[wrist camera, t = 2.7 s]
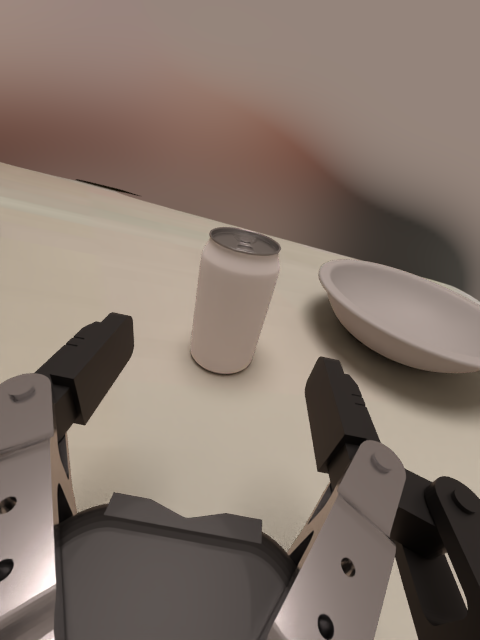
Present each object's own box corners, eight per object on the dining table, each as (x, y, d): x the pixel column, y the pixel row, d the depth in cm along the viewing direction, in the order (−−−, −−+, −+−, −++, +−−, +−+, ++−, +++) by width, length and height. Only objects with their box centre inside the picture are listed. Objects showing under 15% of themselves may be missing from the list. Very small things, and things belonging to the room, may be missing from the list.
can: (251, 338, 29) (281, 235, 23) (252, 381, 24) (292, 263, 17) (195, 329, 29) (209, 220, 22) (183, 370, 23) (197, 243, 17)
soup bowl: (354, 415, 23) (393, 364, 19) (282, 287, 42) (294, 249, 39) (537, 413, 29) (594, 373, 25) (400, 301, 48) (421, 269, 44)
